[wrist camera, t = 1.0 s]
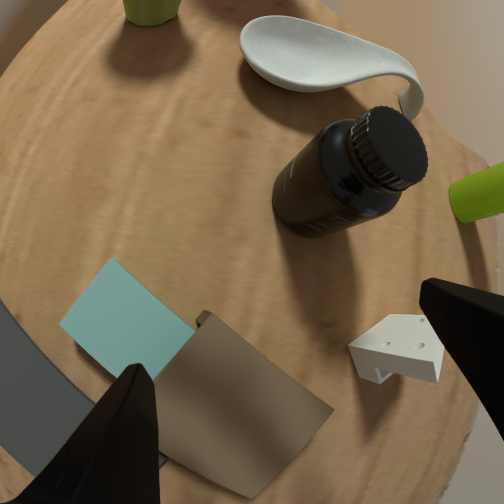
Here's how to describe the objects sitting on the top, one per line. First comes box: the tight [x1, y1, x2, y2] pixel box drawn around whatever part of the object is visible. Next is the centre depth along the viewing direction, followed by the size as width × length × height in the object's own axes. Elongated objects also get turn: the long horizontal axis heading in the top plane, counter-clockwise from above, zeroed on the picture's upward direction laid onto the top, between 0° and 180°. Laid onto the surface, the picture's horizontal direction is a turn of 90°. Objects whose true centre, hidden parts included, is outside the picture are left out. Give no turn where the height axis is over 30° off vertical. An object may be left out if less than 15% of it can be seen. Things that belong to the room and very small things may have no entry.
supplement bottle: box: [272, 106, 428, 238], centre depth 19 cm, size 7×7×12 cm
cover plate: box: [59, 257, 196, 380], centre depth 19 cm, size 6×14×3 cm, turn 51°
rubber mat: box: [0, 299, 167, 477], centre depth 15 cm, size 12×20×1 cm, turn 49°
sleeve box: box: [153, 310, 335, 499], centre depth 18 cm, size 9×11×5 cm
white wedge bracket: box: [348, 314, 444, 384], centre depth 21 cm, size 4×10×9 cm, turn 115°
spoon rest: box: [239, 15, 424, 121], centre depth 25 cm, size 24×12×7 cm, turn 91°
